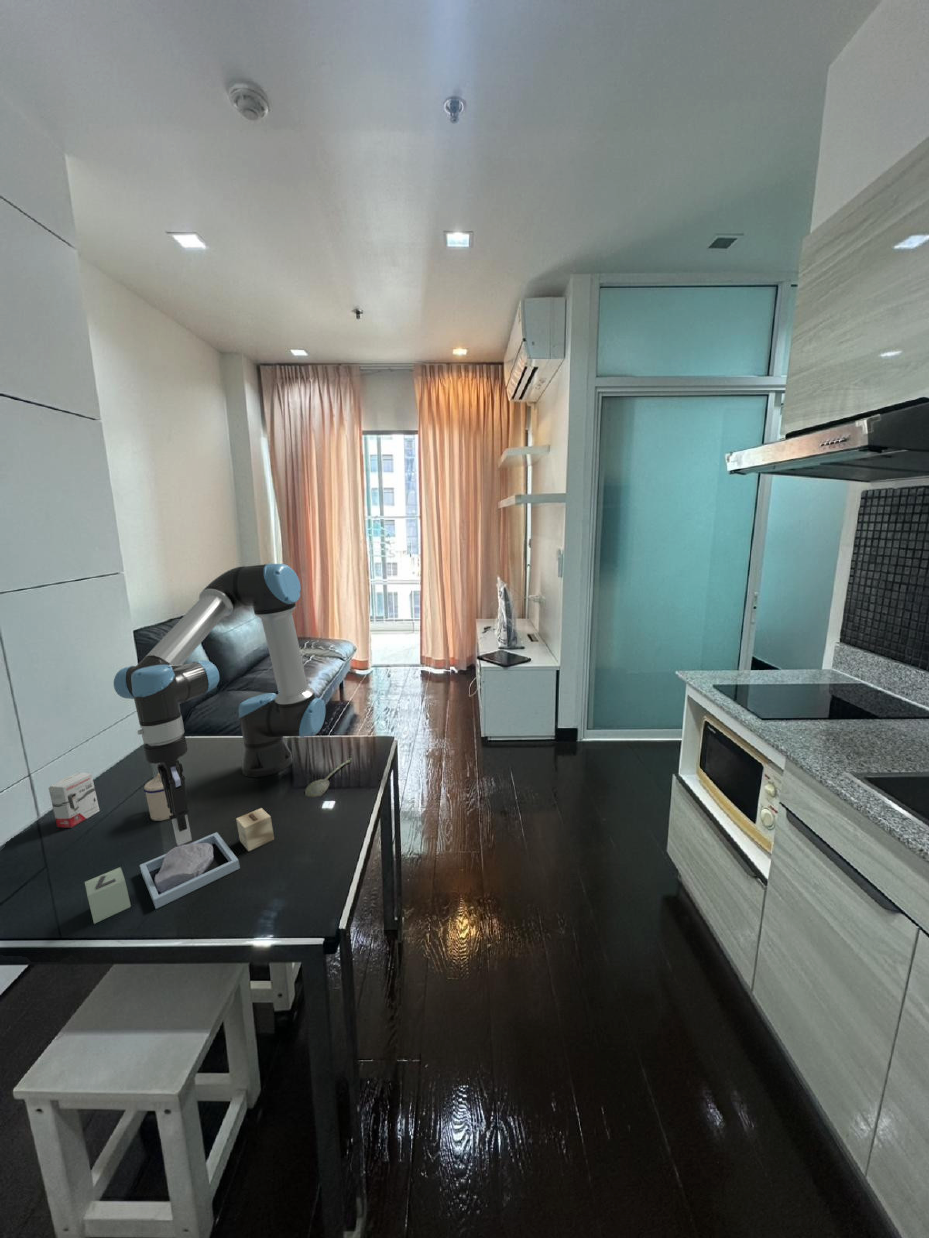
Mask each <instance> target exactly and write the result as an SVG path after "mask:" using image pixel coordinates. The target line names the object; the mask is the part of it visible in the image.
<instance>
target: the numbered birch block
mask: <svg viewBox="0 0 929 1238" xmlns="http://www.w3.org/2000/svg"><path fill="white" fill-rule="evenodd" d="M271 817H272V816H271V815H270V814H268V813H267V811H265V810H264V809H263V808H262V807H260V808H258V809H256V810H254V811H253V810H252V811H251V812H248V813H246V814H243V815H241V816H239V817H236V818H235V820H236V826H237V827H236V828H237V832H238V837H239V843H241V844H242V845H243V847H244V848H245V849H246V850H247V852H250V851H253V850H255V849H257V848H259V847H261V846H263V845H266V844H267V843H269V842H270V843H271V841H274V840H275V835H274V829H273V823H272V818H271Z"/></svg>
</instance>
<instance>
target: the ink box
mask: <svg viewBox="0 0 929 1238" xmlns="http://www.w3.org/2000/svg"><path fill="white" fill-rule="evenodd" d="M48 793H49V797H50V802H51V806H52V810H53V813H54V819H55V823H56V826H57V828H65V829H66V828H67V829H69V828H70V829H71V828H74V827H75V826H77V825H79V824H80V823H83V822H84V821H86V820H87V819H89V818H90V817H92V816H94V815H95V814H97V813H99V812H101V811H100V807H99V802H98V797H97V793H96V788H95V784H94V779H93V775H92V772H76V773H73V774H72V775H69V776H67V777H65V778H64V779H61V780H59V781H57V782H55V783H53V784H51V785H50V786H49V787H48Z"/></svg>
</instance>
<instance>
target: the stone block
mask: <svg viewBox="0 0 929 1238" xmlns="http://www.w3.org/2000/svg"><path fill="white" fill-rule="evenodd" d="M190 843H191V844H190ZM190 843H188V844H187V843H186V844H182V845H179V846H178V845H177V846H175V847H174V848H171V849H170V850H169V851H167V852H166V853H165V854H166V856H165V858H164V860H163V863H162V867H160V868H159V869H160V870H159V871H158V873H156V874H155V876H154V885H155V887H156V890H157V892H158V894H162V893H164V892H166V891H168V890H170V889H172V888H174V887H177V886H179V885H181V884H183V883H185V882H187V881H189V880H191V879H194V878H196V877H198V876H200V875H202V874H204V873H205V871H207V870H208V868H209V867H210V865H211V863H212V862H213V861H214V857H215V856H214V847H213V844H212V845H211V844H209V843H192V842H190Z"/></svg>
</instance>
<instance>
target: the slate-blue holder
mask: <svg viewBox="0 0 929 1238" xmlns="http://www.w3.org/2000/svg"><path fill="white" fill-rule="evenodd" d="M191 843H209V844H211V845H212V846H213V845H216V847H217V848H218V849H219V851H220V852H221V853H222V855H223V856H224V857H225V859H226V860H227V861H228V862H225V863H223V864H221V865H220V866H217V867H215V868H213V869H211V870H209V871H207V872H203V874H202V875H200V876H198V877H196V878H194V879H191V880H189V881H187V882H185V883H183V884H181V885H179V886H177V887H174V888H172V889H170V890H168V891H166V892H164V893H159V892H158V891H157V890H156V887H155V882H154V881H153V878H152V876H151V874H150V872H153V871H155V870H157V869H161V867H162V863H163V860H164V858H165V856H166V854H167V853H165V854H162V855H160V856H158V857H156V858H153V859H151V860H148V861H146V862H144V863H141V864H139V869H140V873H141V875H142V878H143V880H144V883H145V885H146V888H147V890H148V892H149V895H150V898H151V900H152V902H153V905H154V908H155V910H157V909H159V908H161V907H163V906H165V905H167V904H169V903H172V902H174V901H176V900H178V899H180V898H181V897H184V896H186V895H189V894H190V893H192V892H194V891H196V890H198V889H200V888H203V887H204V886H206V885H208V884H210V883H212V882H215V881H216V880H219V879H221V878H222V877H225V876H227V875H229V874H231V873H234V872H235V871H237V870H239V869H241V866H240V862H239V861H240V860H239V859H238V857H237V856H236V855H235V854H234V852H233V850H231V848H230V847H229V846H228V844H227V843H226V842H225V840H224V839H223V838H222V837H221V835H220V834H219V833H218V832H217V831H216V832H214V833H212V834H209V835H206V836H204V837H202V838H200V839H197V840H195V841H193V842H190V843H189V844H191Z"/></svg>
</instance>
